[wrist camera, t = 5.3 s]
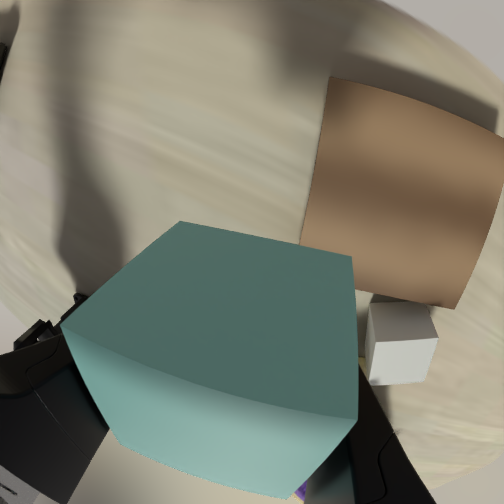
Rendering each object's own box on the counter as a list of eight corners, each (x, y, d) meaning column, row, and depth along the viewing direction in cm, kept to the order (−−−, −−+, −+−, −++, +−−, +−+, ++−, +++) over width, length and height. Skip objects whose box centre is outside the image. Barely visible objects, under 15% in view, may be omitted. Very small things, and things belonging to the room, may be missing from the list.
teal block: (311, 374, 10) (286, 499, 6) (183, 341, 11) (120, 444, 7) (351, 256, 8) (357, 420, 3) (179, 220, 9) (60, 325, 4)
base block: (442, 287, 19) (454, 309, 17) (296, 254, 21) (292, 275, 18) (489, 137, 14) (512, 143, 11) (328, 83, 16) (329, 76, 13)
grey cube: (413, 342, 22) (423, 381, 18) (364, 345, 23) (367, 385, 19) (423, 299, 20) (438, 337, 16) (369, 302, 21) (375, 342, 17)
